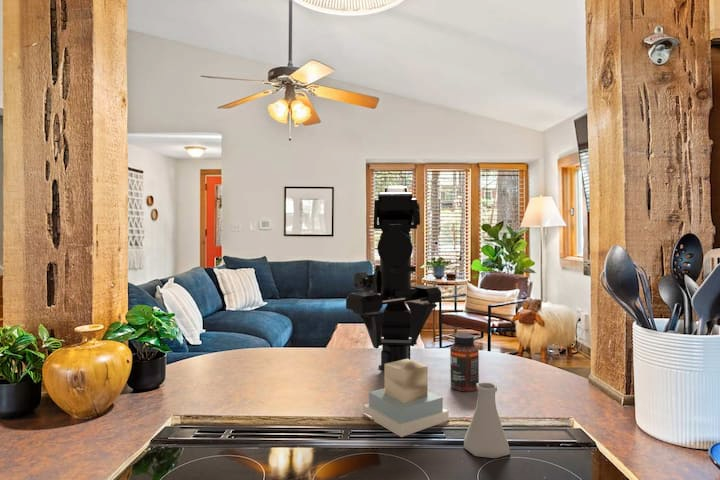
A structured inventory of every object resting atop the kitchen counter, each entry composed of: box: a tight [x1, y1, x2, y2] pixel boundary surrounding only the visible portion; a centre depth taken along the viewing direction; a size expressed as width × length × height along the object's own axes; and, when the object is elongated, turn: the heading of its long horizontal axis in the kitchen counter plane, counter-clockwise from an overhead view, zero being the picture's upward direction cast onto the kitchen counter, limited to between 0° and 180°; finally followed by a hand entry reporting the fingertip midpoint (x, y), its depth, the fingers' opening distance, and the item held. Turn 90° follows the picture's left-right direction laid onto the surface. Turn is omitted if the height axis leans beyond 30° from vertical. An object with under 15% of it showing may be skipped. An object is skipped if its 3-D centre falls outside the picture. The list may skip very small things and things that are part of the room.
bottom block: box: [362, 403, 450, 438], centre depth 83 cm, size 11×11×2 cm
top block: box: [368, 387, 444, 424], centre depth 83 cm, size 10×10×2 cm
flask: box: [463, 381, 511, 459], centre depth 72 cm, size 7×7×10 cm
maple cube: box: [383, 358, 429, 403], centre depth 83 cm, size 6×6×6 cm
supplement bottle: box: [449, 332, 480, 392], centre depth 98 cm, size 6×6×11 cm
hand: (395, 343), depth 85 cm, fingers open, 9 cm apart
